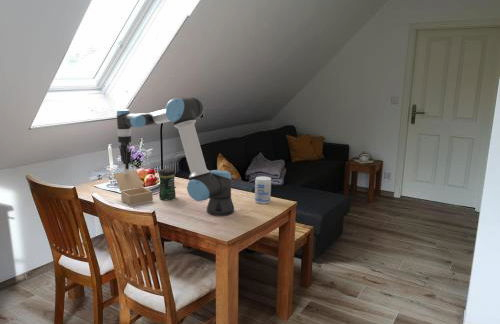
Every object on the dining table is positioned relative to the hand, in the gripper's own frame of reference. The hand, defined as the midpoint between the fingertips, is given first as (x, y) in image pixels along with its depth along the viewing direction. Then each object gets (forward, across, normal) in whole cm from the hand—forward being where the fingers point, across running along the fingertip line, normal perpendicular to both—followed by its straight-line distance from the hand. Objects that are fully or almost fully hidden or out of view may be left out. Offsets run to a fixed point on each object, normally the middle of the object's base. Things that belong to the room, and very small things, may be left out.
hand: (126, 173), depth 237 cm
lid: (+3, -2, 0) cm, 4 cm away
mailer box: (+14, -13, 0) cm, 19 cm away
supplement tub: (+14, -60, -58) cm, 85 cm away
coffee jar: (+14, -19, -17) cm, 29 cm away
